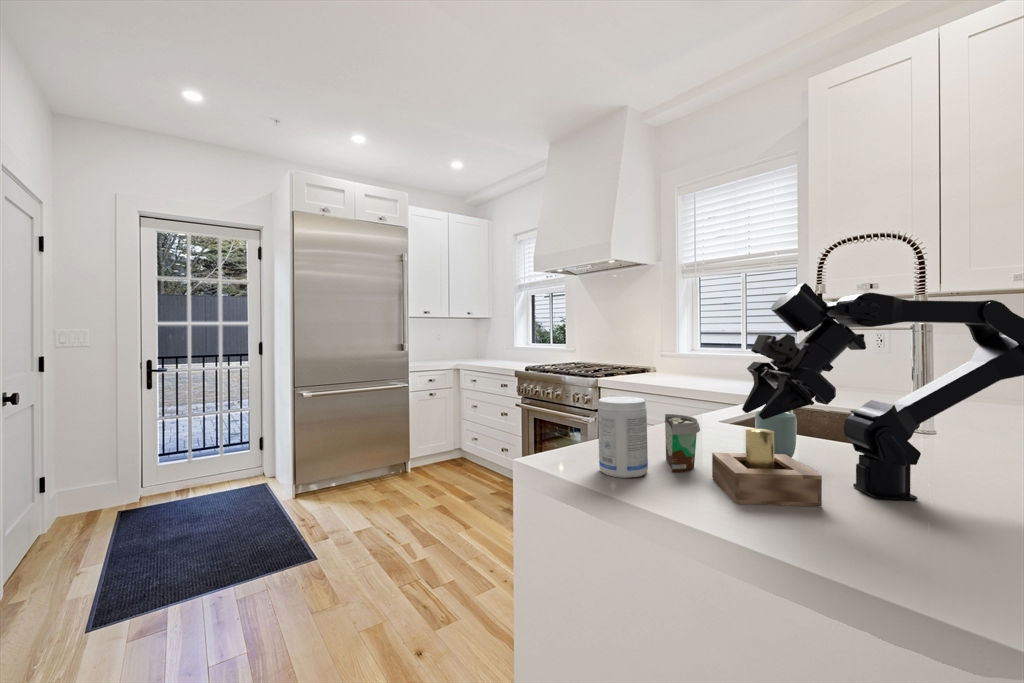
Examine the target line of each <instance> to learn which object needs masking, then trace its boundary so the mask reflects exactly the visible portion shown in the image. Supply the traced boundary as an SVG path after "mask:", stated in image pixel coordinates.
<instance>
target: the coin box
mask: <svg viewBox="0 0 1024 683" xmlns="http://www.w3.org/2000/svg"><path fill="white" fill-rule="evenodd" d="M711 455H712V456H711V460H712V461H711V462H712V464H711V466H712V467H711V472H712V474H711V478H713V479H712V480H713V481H714V482H715V483H716V484H717V485H718V487H720V488H721V489H722V491H723V490H724V491H725V492H726V493H725V492H724V491H723V492H724V493H725V494H726V495H727V497H729V498H730V499H731V500H732V501H733V503H734V504H737V503H739V505H740V504H743V505H744V504H745V505H762V504H772V505H771V506H788V505H796V506H795V507H813V506H822V504H823V501H822V500H823V497H822V496H823V495H822V494H823V493H822V492H823V491H822V489H823V485H822V484H823V482H822V481H823V480H822V479H823V476H822V474H820V473H818V472H816V471H814V470H813V469H811V468H809V466H806V465H804V464H803V463H801V462H800V461H798V460H796V459H794V458H793V457H792V458H791V457H789V456H787V455H786V454H774V469H747V468H746V452H745V453H743V452H712V453H711ZM773 504H774V505H773ZM797 505H798V506H797Z"/></svg>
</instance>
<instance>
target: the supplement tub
mask: <svg viewBox="0 0 1024 683" xmlns="http://www.w3.org/2000/svg"><path fill="white" fill-rule="evenodd" d="M647 417H648V416H647V404H646V399H644V398H641V397H635V396H608V397H607V396H605V397H602V398H599V399H598V405H597V424H598V425H597V426H598V428H597V429H598V430H597V431H598V459H599V460H598V463H599V465H598V466H599V470H600V472H602V474H605V475H607V476H611V477H613V478H621V479H629V478H638V477H639V478H640V477H642V476H644V475H645V474H647V472H648V470H649V464H648V463H649V460H648V459H649V458H648V456H649V454H648V420H647V419H648V418H647Z"/></svg>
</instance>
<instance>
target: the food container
mask: <svg viewBox="0 0 1024 683" xmlns="http://www.w3.org/2000/svg"><path fill="white" fill-rule="evenodd" d="M664 423H665V424H664V427H665V428H664V432H665V461H666V463H667V465H668V467H669V469H670V471H671V472H670V473H673V474H674V473H675V474H678V473H679V474H680V473H681V474H683V473H688V472H692V471H693V470H694V469H695V464H696V463H695V462H696V461H695V460H696V449H697V448H696V447H697V435H698V434H697V433H700V432H701V428H700V423H699V421H698V419H697V418H695V417H693V416H689V415H683V414H677V413H676V414H674V413H664Z"/></svg>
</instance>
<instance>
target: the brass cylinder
mask: <svg viewBox="0 0 1024 683" xmlns="http://www.w3.org/2000/svg"><path fill="white" fill-rule="evenodd" d="M745 453H746V468H747V469H774V431H771V430H766V429H755V428H746V429H745Z"/></svg>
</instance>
